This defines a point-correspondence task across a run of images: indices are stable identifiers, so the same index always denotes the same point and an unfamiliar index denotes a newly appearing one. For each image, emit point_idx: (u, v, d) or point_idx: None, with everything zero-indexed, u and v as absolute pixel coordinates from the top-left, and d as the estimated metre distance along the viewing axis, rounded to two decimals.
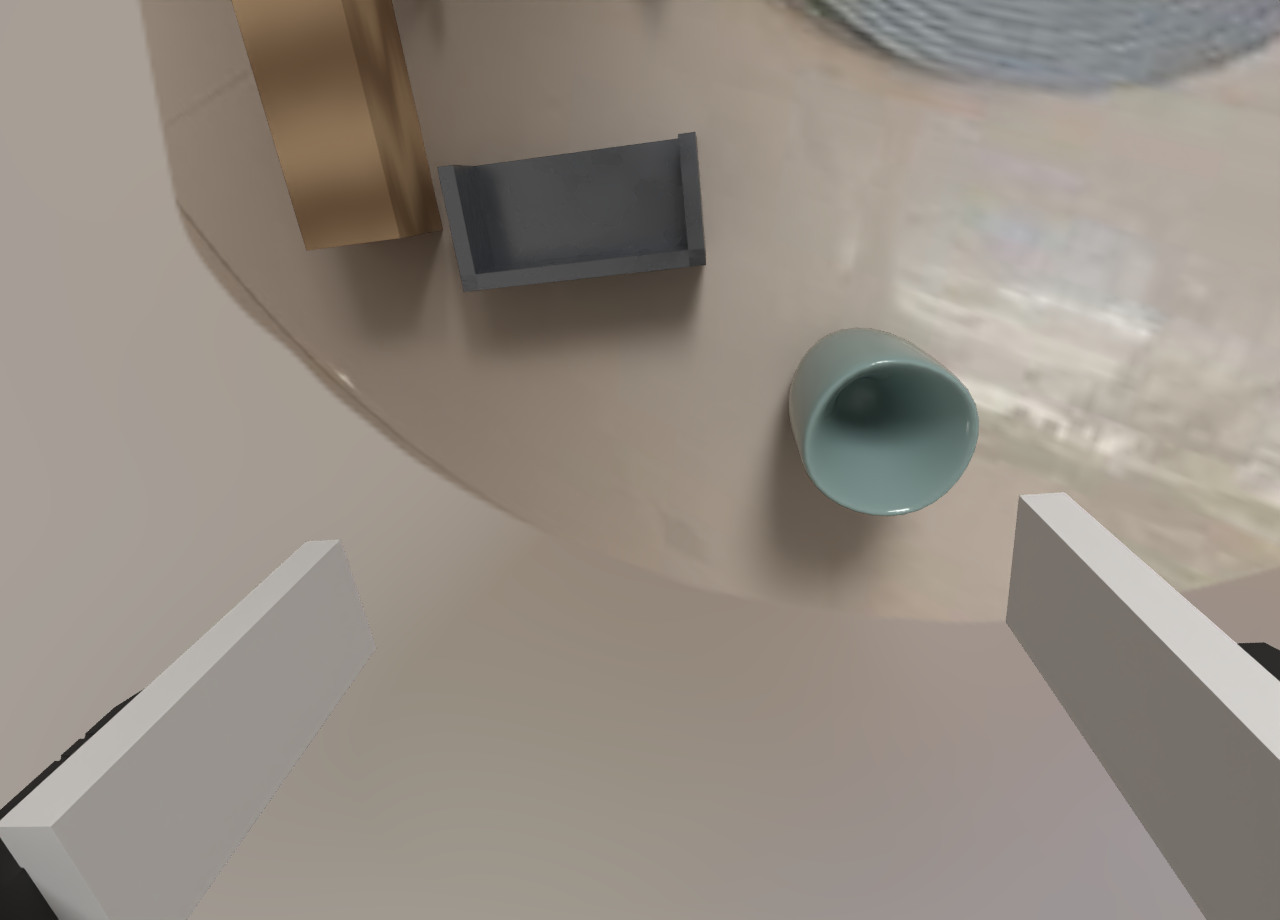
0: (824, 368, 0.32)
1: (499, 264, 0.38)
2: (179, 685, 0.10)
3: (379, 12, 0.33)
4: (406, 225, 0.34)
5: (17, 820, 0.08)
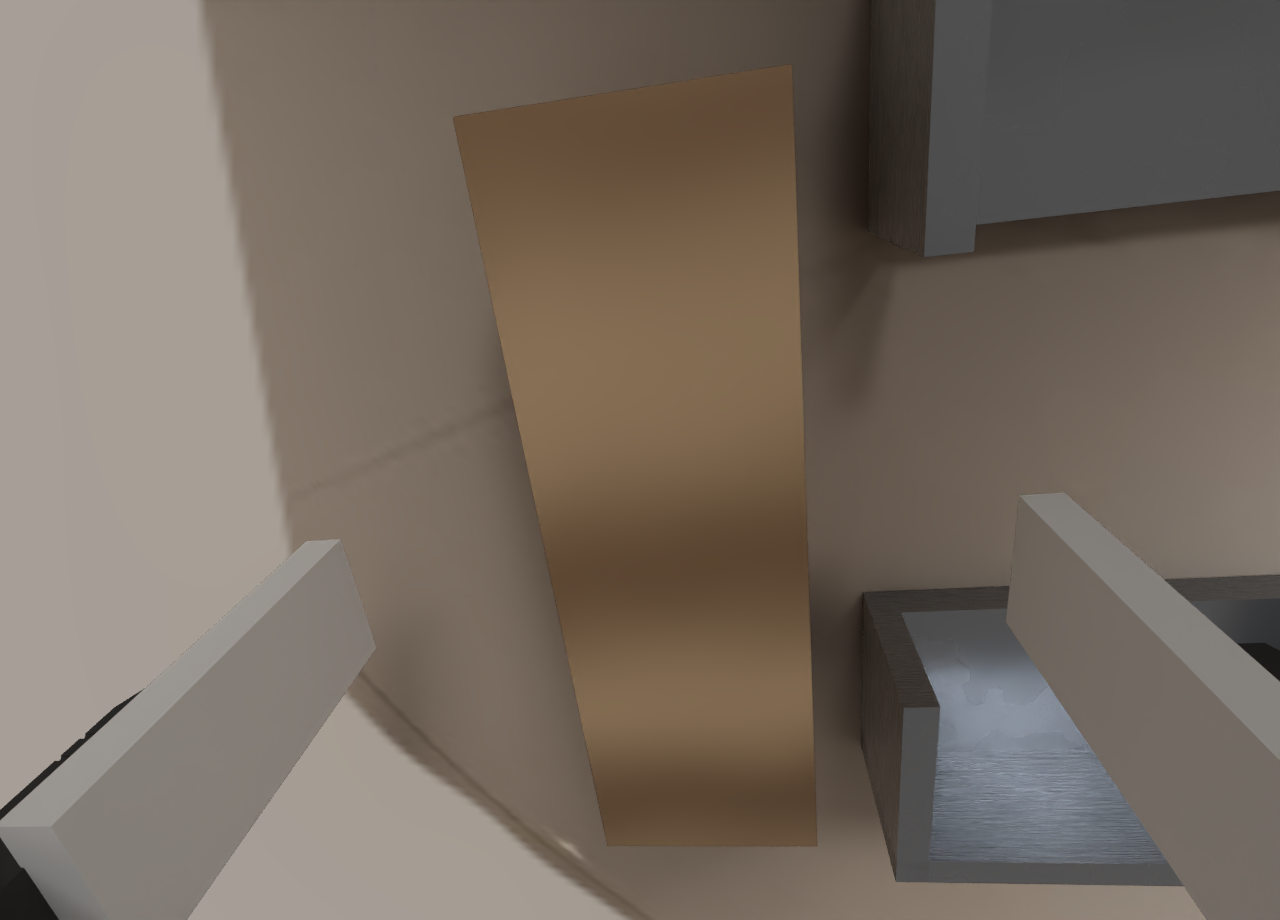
0: None
1: None
2: (179, 685, 0.10)
3: None
4: None
5: (17, 820, 0.08)
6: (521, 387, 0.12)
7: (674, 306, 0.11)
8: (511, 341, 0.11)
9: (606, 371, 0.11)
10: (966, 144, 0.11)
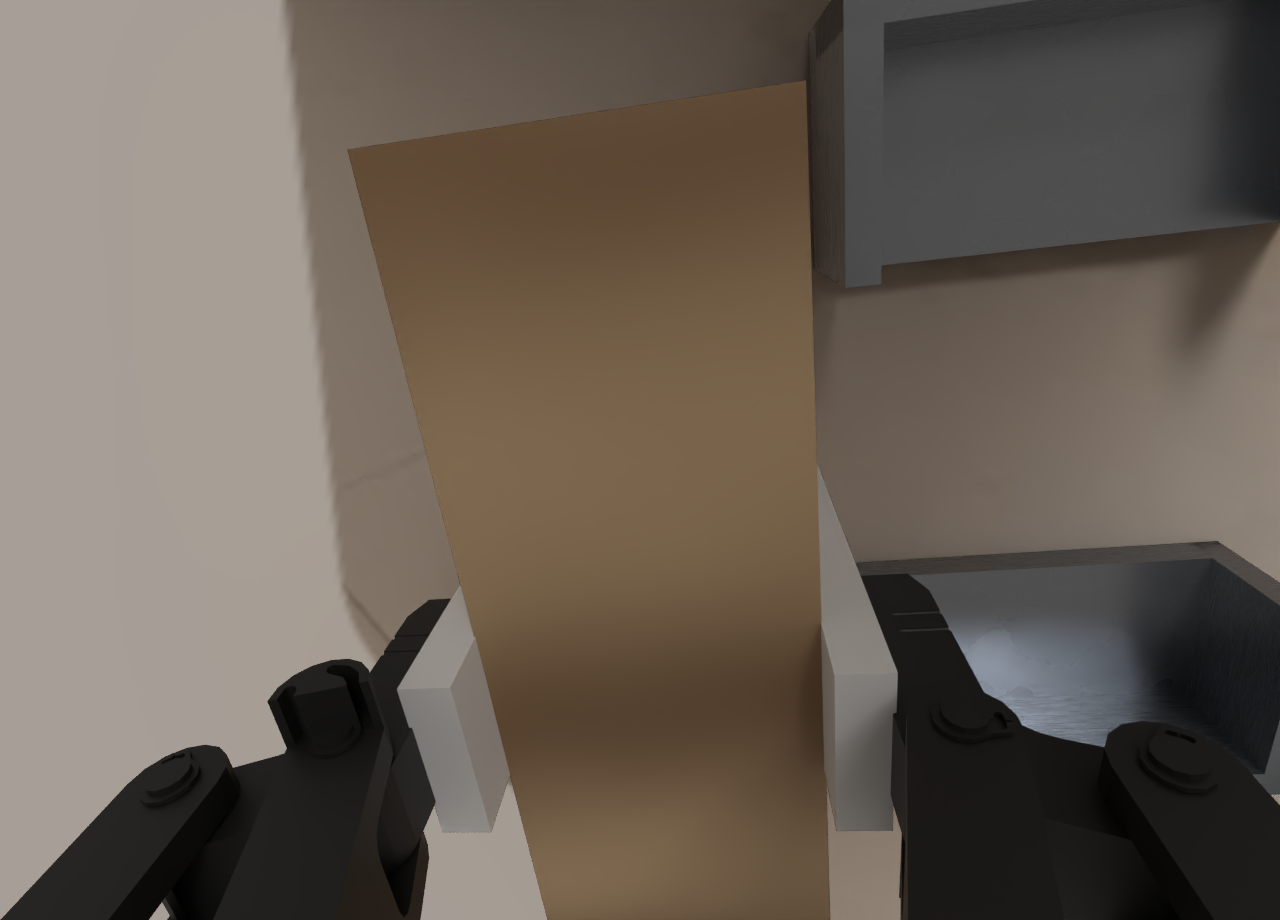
0: None
1: None
2: None
3: None
4: None
5: (414, 684, 0.09)
6: (451, 495, 0.09)
7: (648, 396, 0.08)
8: (436, 438, 0.09)
9: (561, 477, 0.09)
10: (871, 208, 0.15)
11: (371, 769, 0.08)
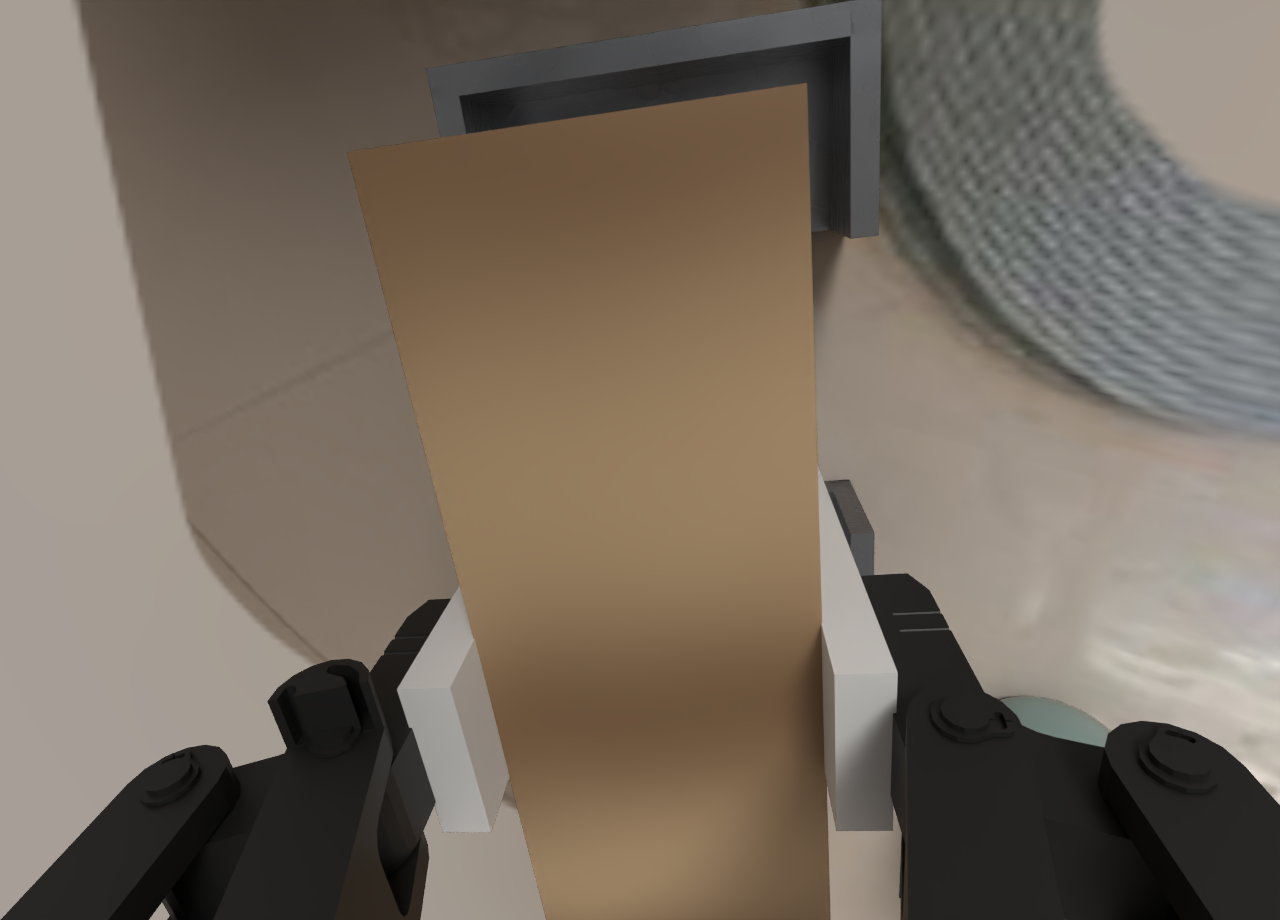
0: None
1: None
2: None
3: None
4: None
5: (414, 685, 0.09)
6: (451, 498, 0.09)
7: (648, 399, 0.08)
8: (436, 441, 0.09)
9: (560, 480, 0.09)
10: None
11: (371, 769, 0.08)
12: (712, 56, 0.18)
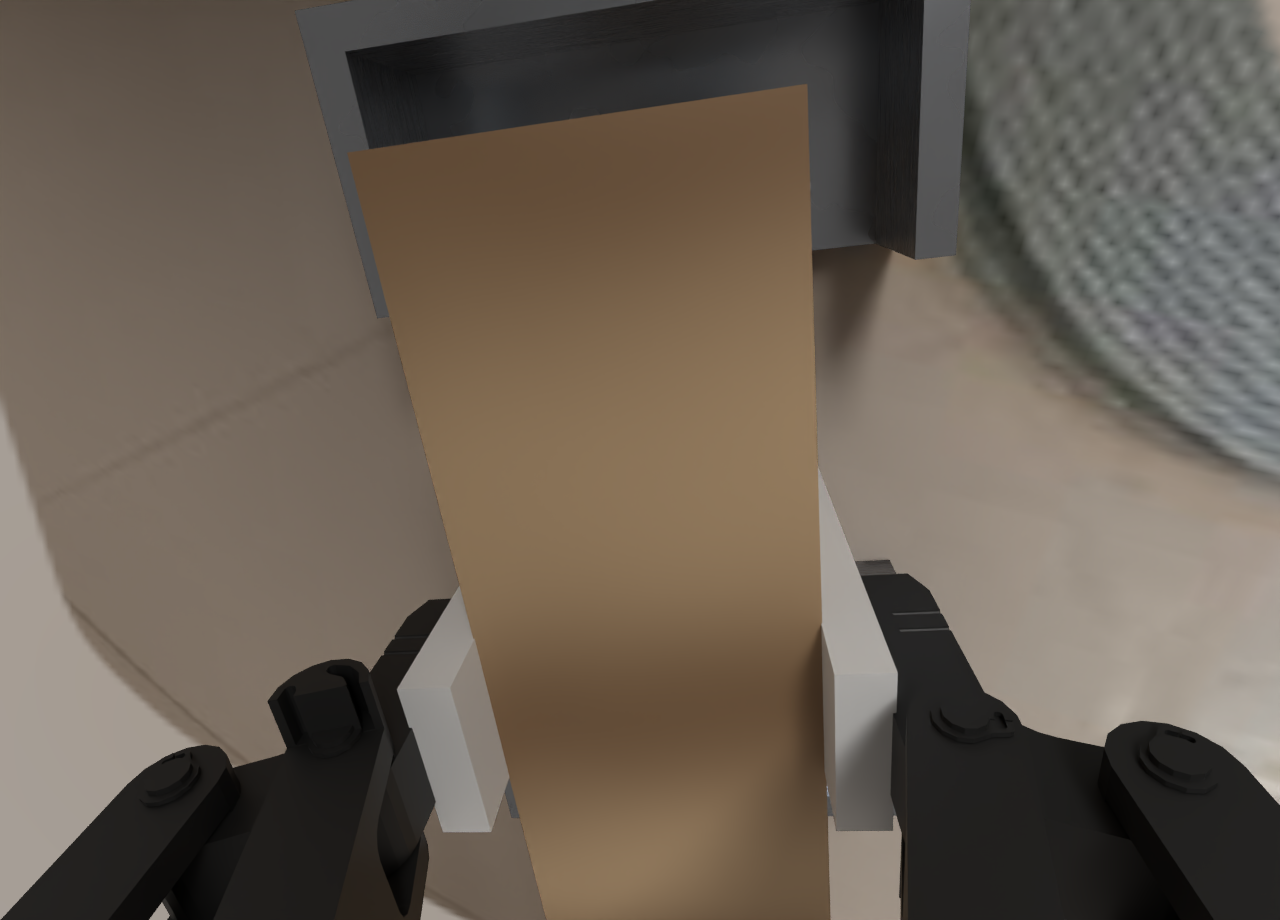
0: None
1: None
2: None
3: None
4: None
5: (414, 685, 0.09)
6: (451, 498, 0.09)
7: (649, 400, 0.08)
8: (436, 441, 0.09)
9: (560, 480, 0.09)
10: None
11: (371, 769, 0.08)
12: None
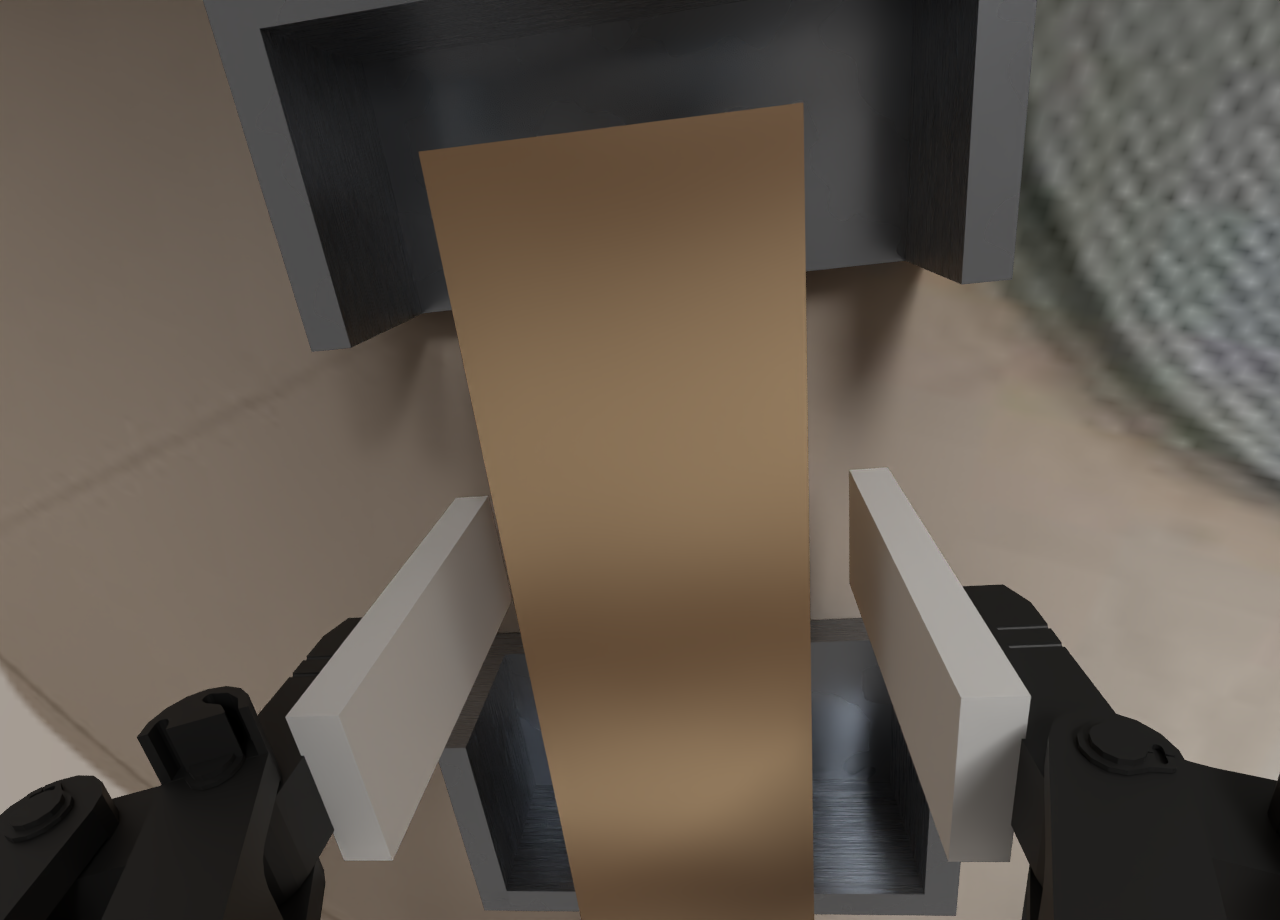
0: None
1: (544, 783, 0.22)
2: (397, 611, 0.11)
3: None
4: None
5: (304, 712, 0.09)
6: (494, 449, 0.10)
7: (666, 365, 0.10)
8: (483, 399, 0.10)
9: (588, 435, 0.10)
10: (312, 257, 0.12)
11: (254, 795, 0.08)
12: None
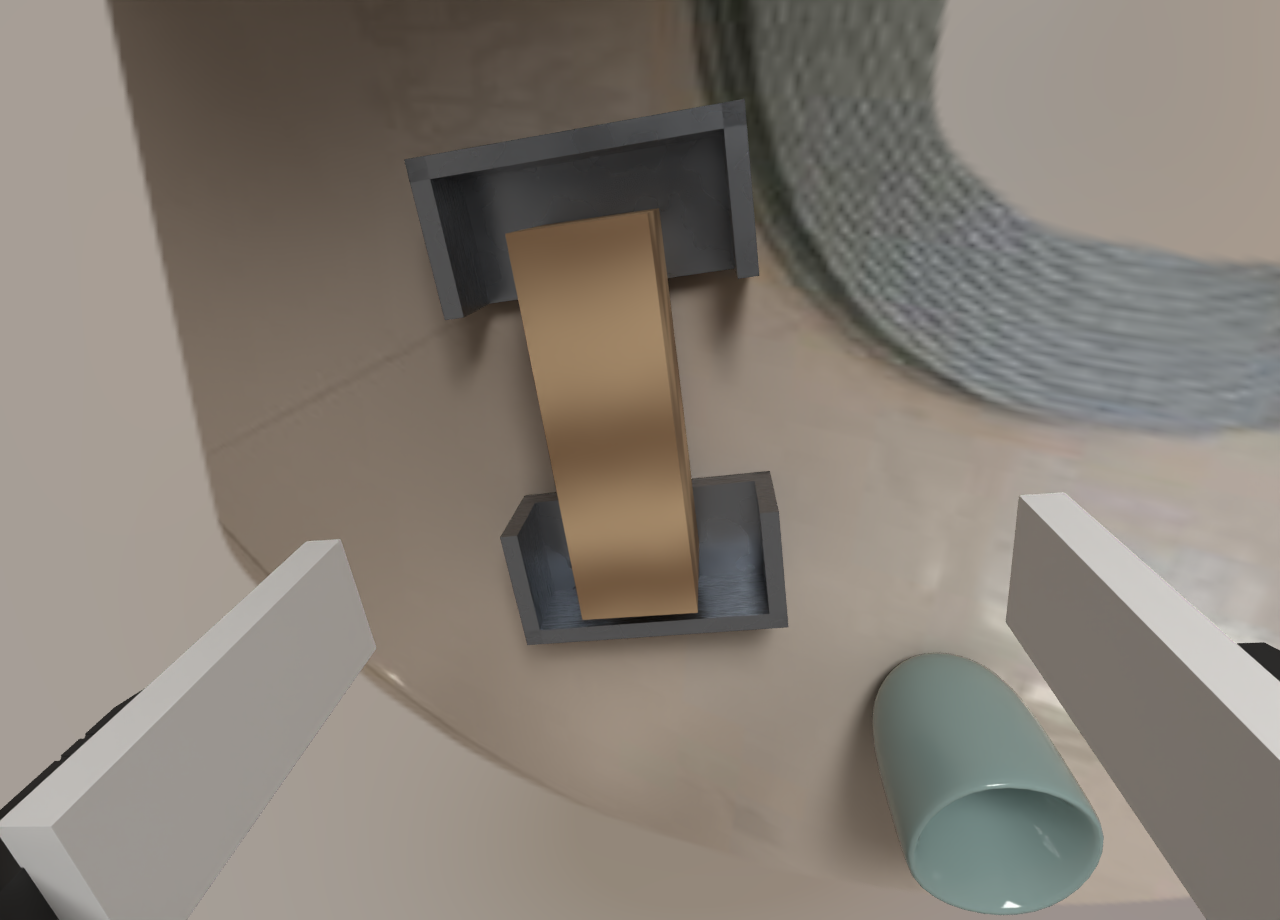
0: (924, 755, 0.29)
1: (559, 589, 0.36)
2: (179, 685, 0.10)
3: (673, 354, 0.28)
4: (696, 587, 0.29)
5: (18, 820, 0.08)
6: (534, 354, 0.25)
7: (604, 314, 0.24)
8: (529, 332, 0.24)
9: (574, 345, 0.24)
10: (447, 275, 0.26)
11: None
12: (621, 145, 0.24)
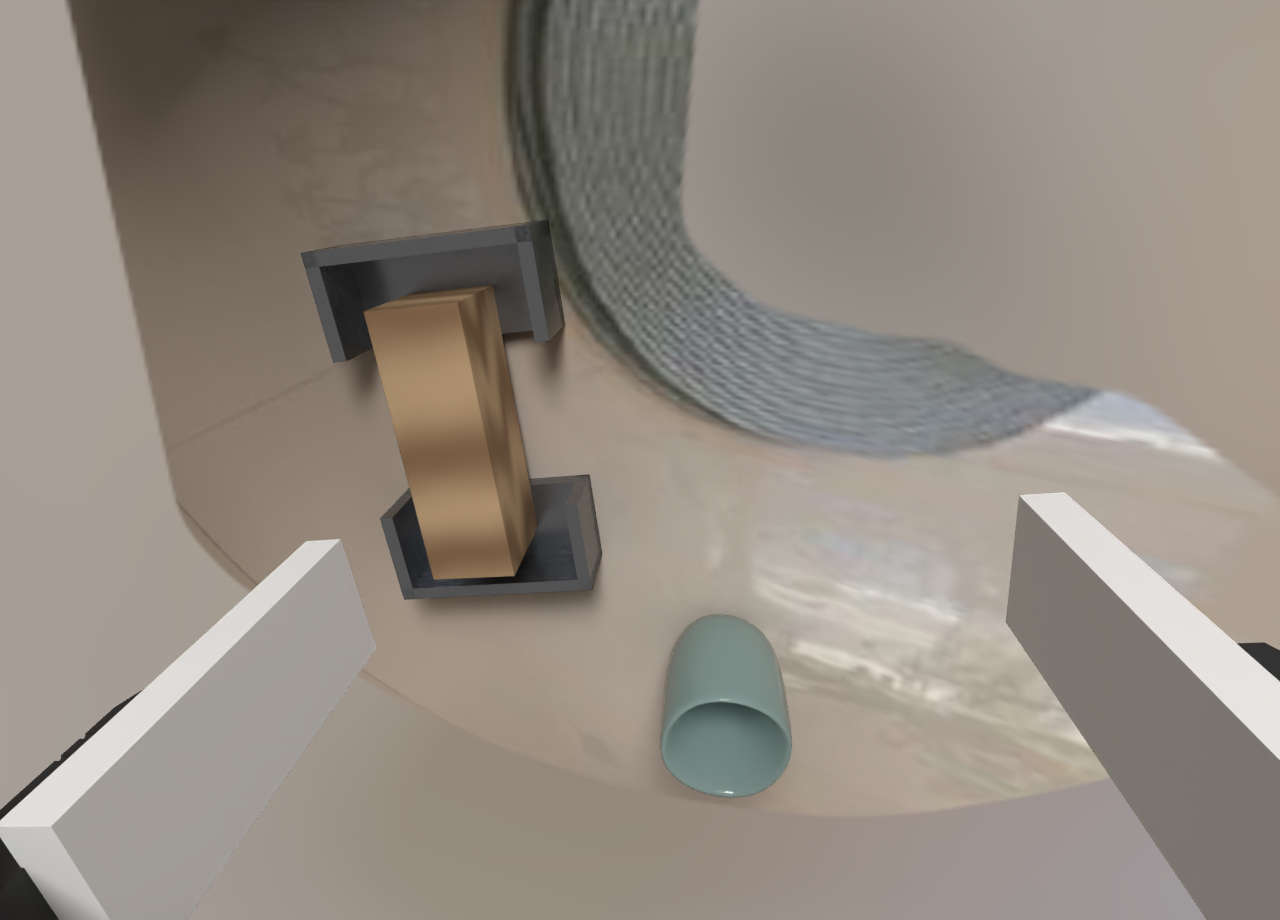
0: (679, 682, 0.41)
1: None
2: (179, 685, 0.10)
3: (500, 390, 0.39)
4: (517, 558, 0.40)
5: (17, 820, 0.08)
6: (388, 391, 0.36)
7: (433, 367, 0.35)
8: (384, 377, 0.35)
9: (415, 387, 0.35)
10: (334, 332, 0.37)
11: None
12: (448, 250, 0.35)
